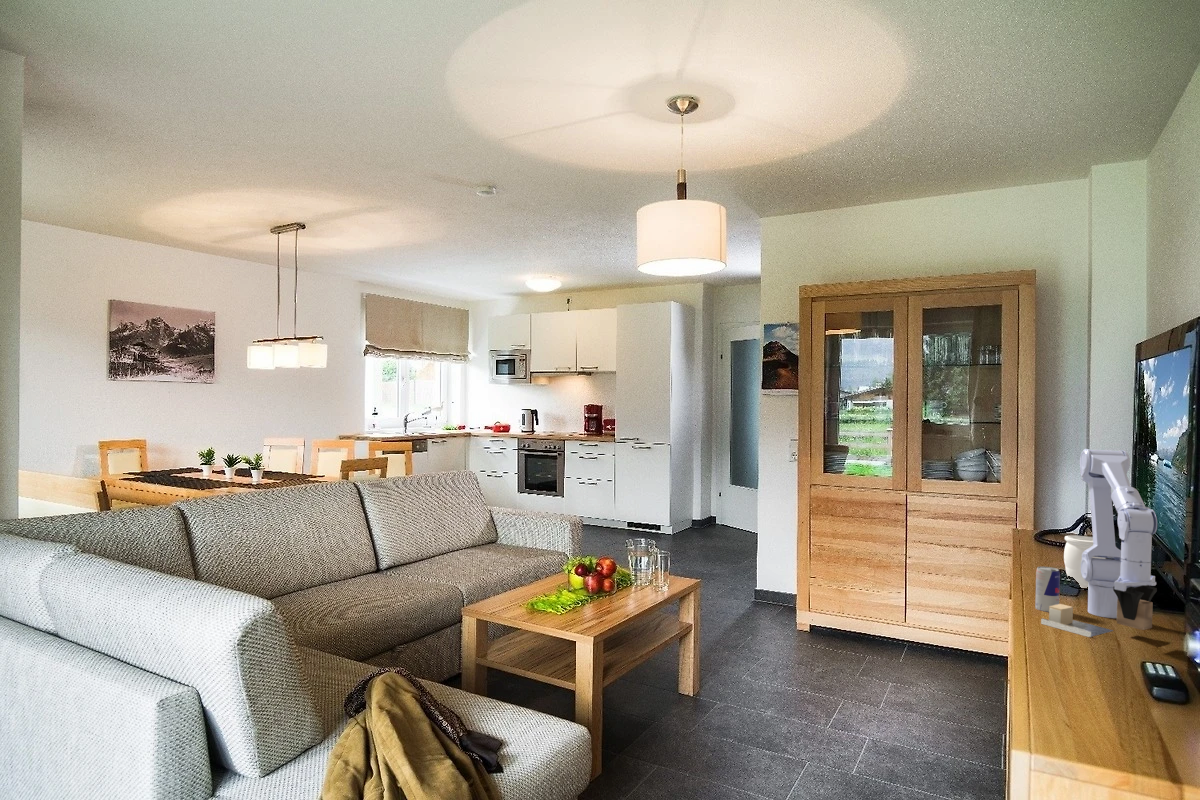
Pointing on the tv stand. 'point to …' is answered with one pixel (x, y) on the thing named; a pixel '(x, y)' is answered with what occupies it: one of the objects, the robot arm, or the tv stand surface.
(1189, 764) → the tv stand surface
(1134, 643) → the tv stand surface
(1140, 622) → the brown thick square block
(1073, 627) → the shelf board
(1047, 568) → the energy drink
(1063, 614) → the beige rectangular block
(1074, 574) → the jar
